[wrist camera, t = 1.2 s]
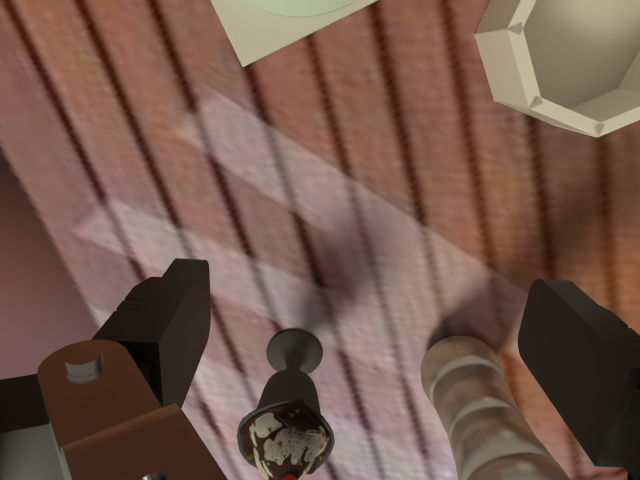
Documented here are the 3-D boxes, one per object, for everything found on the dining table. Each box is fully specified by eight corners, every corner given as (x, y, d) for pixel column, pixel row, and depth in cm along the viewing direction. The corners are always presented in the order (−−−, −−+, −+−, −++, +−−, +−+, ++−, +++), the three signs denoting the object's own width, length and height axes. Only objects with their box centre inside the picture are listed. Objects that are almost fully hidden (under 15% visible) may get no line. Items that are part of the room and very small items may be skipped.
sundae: (280, 394, 42) (259, 558, 28) (243, 339, 40) (201, 487, 26) (344, 367, 41) (355, 524, 27) (310, 309, 39) (302, 447, 25)
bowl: (636, -103, 28) (713, -144, 23) (666, 76, 32) (738, 79, 26) (458, -17, 30) (489, -34, 24) (506, 143, 34) (542, 160, 28)
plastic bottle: (401, 349, 41) (468, 595, 22) (470, 311, 39) (603, 540, 20) (437, 398, 42) (526, 662, 24) (504, 363, 41) (654, 616, 22)
